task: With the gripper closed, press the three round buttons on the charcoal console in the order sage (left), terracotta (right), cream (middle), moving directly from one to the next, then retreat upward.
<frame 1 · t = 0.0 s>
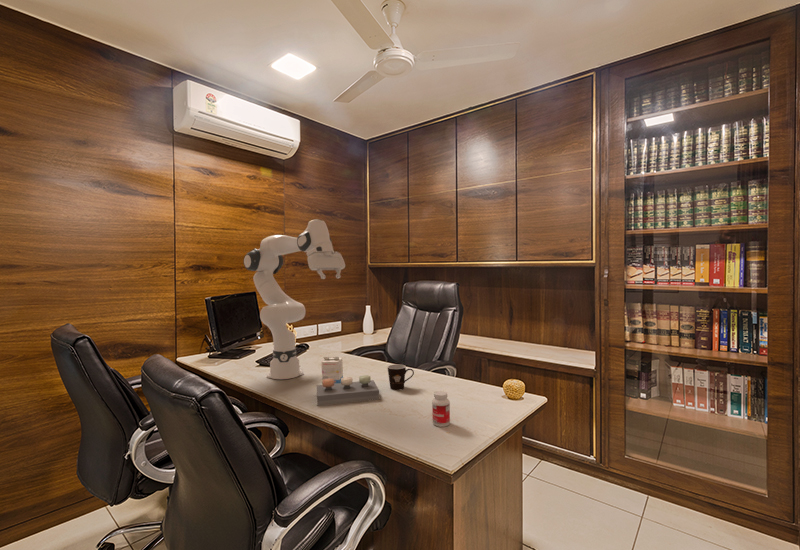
hand: (331, 278, 175), 52 cm above the table, tool tilted 20°, fingers open, 8 cm apart
pill bottle: (441, 424, 133), on the table
sage button: (364, 381, 165), point 6 cm above the table, slide at 0.0 cm
console: (347, 396, 163), on the table
coffee mug: (400, 388, 173), on the table
terracotta button: (328, 385, 161), point 6 cm above the table, slide at 0.0 cm
ink box: (332, 383, 184), on the table
cream button: (346, 383, 163), point 6 cm above the table, slide at 0.0 cm
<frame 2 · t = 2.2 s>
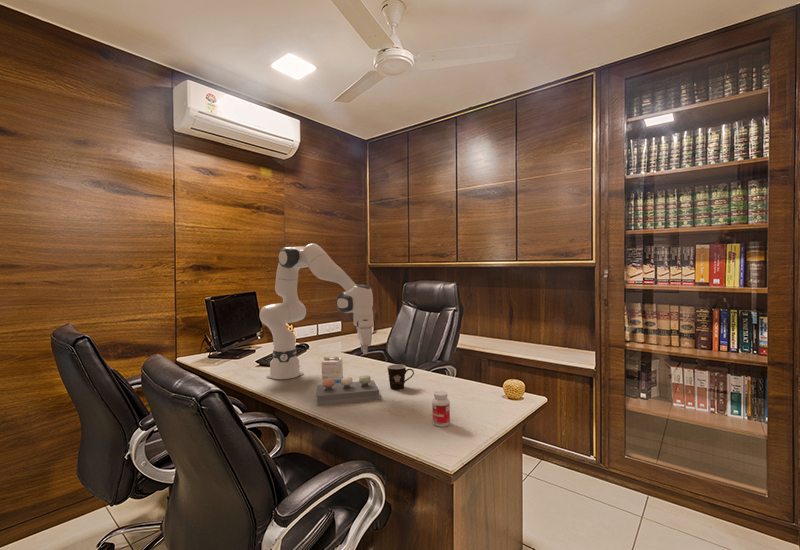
hand: (364, 352, 165), 19 cm above the table, tool pointing down, fingers open, 5 cm apart
nothing on the table moved.
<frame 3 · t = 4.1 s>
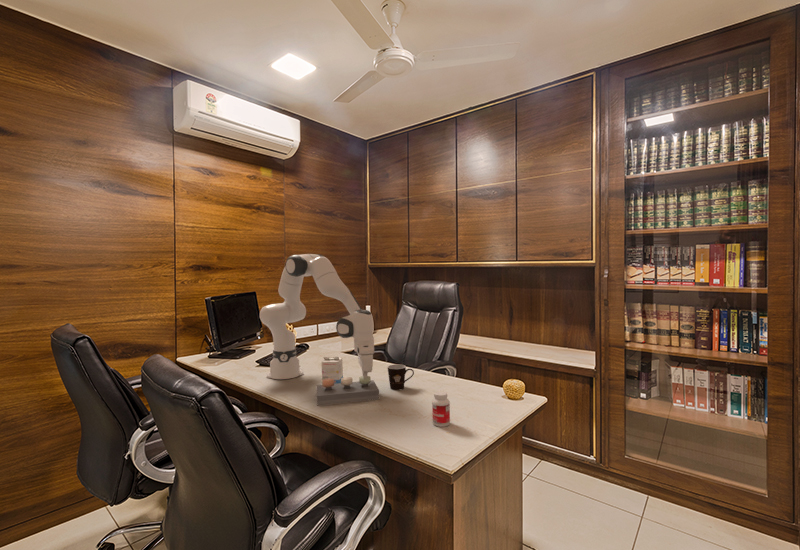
hand: (365, 377, 165), 8 cm above the table, tool pointing down, fingers closed, pressing on sage button
sage button: (364, 382, 165), point 6 cm above the table, slide at 0.2 cm, touching gripper
everything else where it was.
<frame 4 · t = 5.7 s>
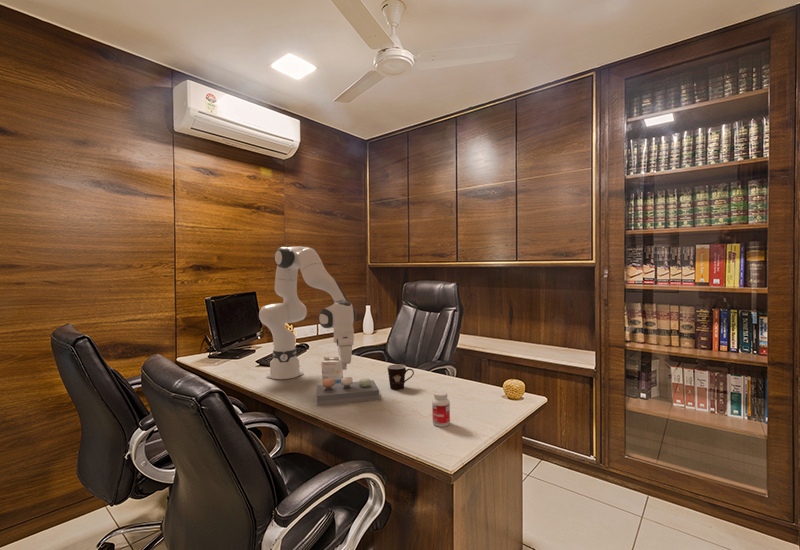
hand: (344, 368, 164), 12 cm above the table, tool pointing down, fingers closed
sage button: (365, 385, 165), point 4 cm above the table, slide at 1.4 cm
everything else where it was.
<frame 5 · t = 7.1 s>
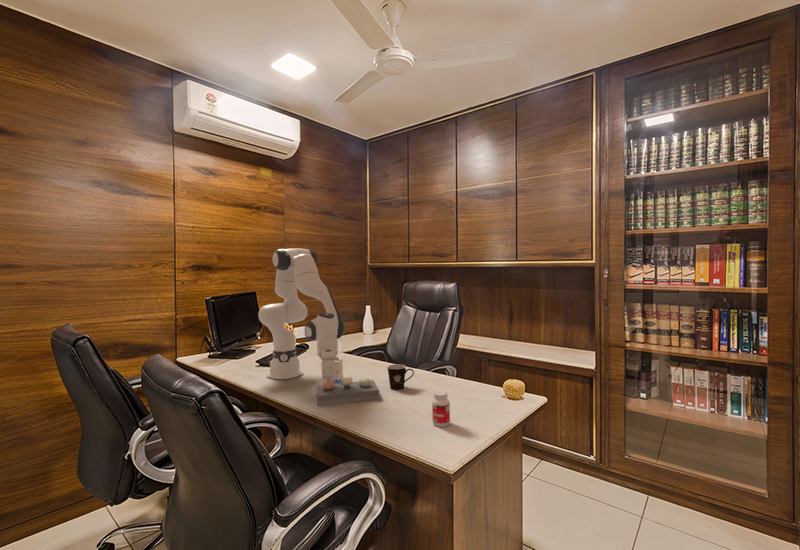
hand: (328, 382, 161), 7 cm above the table, tool pointing down, fingers closed, pressing on terracotta button
terracotta button: (328, 387, 161), point 5 cm above the table, slide at 1.0 cm, touching gripper
everything else where it was.
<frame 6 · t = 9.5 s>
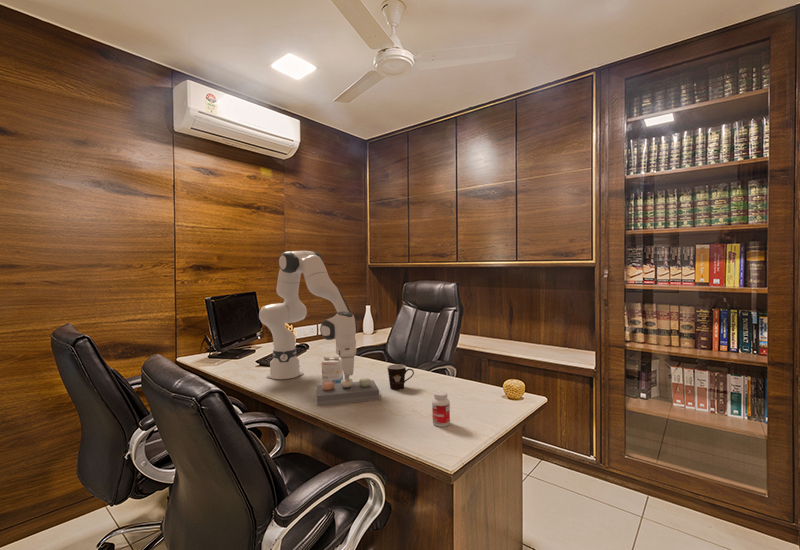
hand: (347, 380, 163), 7 cm above the table, tool pointing down, fingers closed, pressing on cream button
terracotta button: (328, 388, 161), point 4 cm above the table, slide at 1.4 cm
cream button: (346, 385, 163), point 5 cm above the table, slide at 0.8 cm, touching gripper
everything else where it was.
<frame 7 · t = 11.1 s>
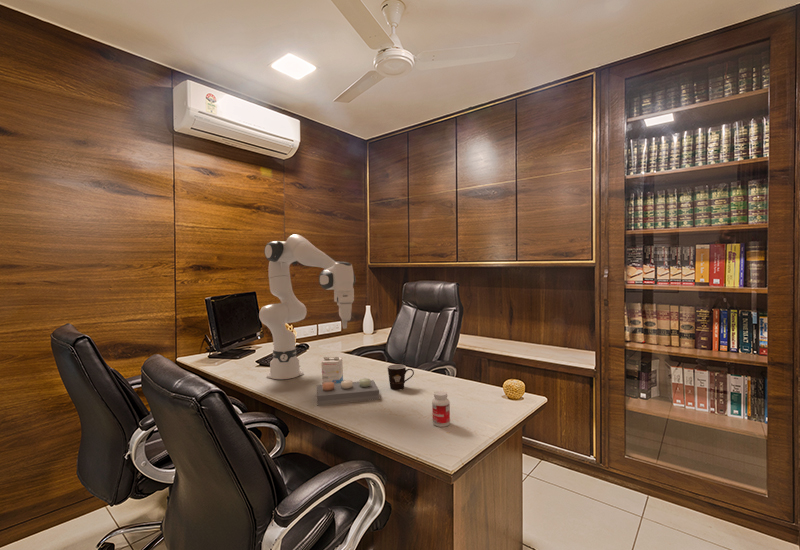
hand: (344, 328, 167), 30 cm above the table, tool pointing down, fingers closed
cream button: (346, 386, 163), point 4 cm above the table, slide at 1.4 cm
everything else where it was.
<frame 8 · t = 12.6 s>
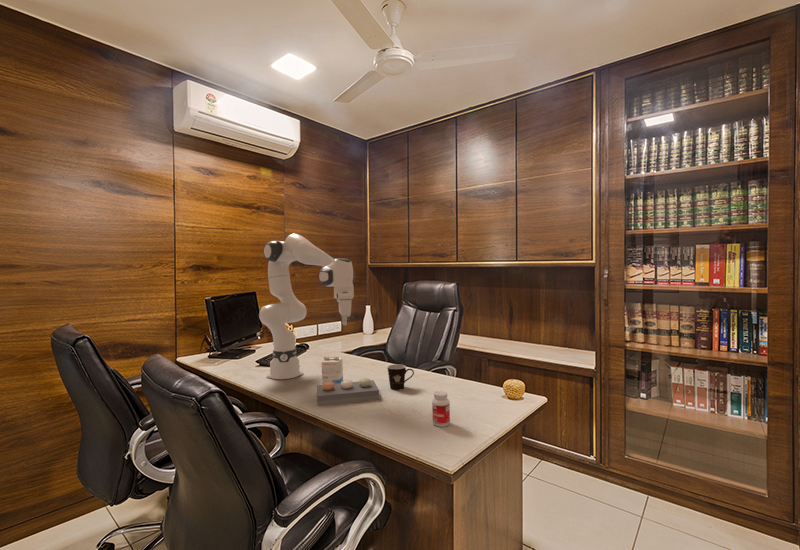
hand: (344, 324, 167), 31 cm above the table, tool pointing down, fingers closed
nothing on the table moved.
at the end: sage button slide at 1.4 cm; terracotta button slide at 1.4 cm; cream button slide at 1.4 cm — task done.
